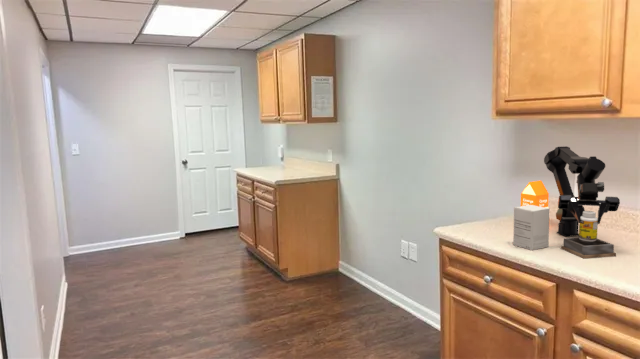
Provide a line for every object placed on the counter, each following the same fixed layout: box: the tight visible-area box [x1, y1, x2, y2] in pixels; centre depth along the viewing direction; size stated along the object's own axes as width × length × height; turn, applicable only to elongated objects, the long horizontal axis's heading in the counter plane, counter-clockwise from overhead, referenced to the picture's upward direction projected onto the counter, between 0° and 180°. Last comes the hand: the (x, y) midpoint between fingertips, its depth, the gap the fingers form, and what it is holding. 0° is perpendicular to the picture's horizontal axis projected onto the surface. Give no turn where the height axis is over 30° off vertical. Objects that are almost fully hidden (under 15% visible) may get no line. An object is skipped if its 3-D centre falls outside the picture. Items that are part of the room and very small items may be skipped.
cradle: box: [560, 236, 617, 260], centre depth 158 cm, size 12×12×4 cm
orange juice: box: [520, 180, 550, 208], centre depth 198 cm, size 8×9×20 cm
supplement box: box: [512, 205, 550, 251], centre depth 168 cm, size 9×9×15 cm
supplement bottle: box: [578, 210, 599, 242], centre depth 157 cm, size 6×6×10 cm
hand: (589, 222), depth 156 cm, fingers closed on supplement bottle, 5 cm apart
